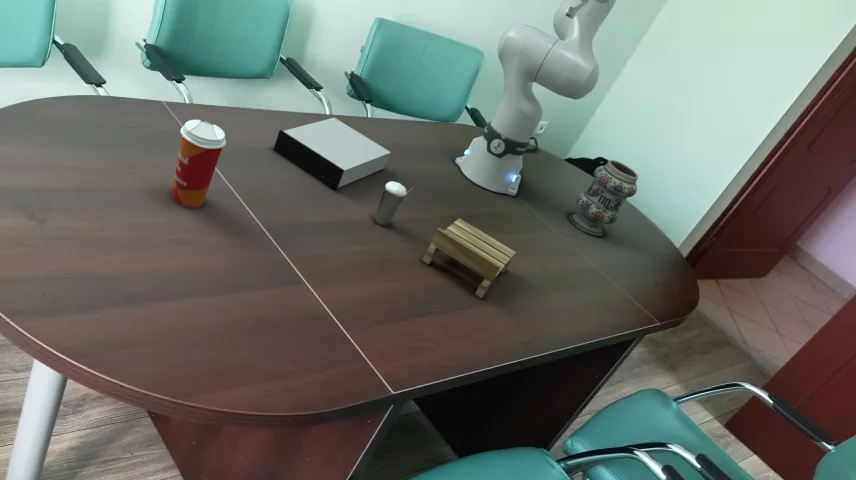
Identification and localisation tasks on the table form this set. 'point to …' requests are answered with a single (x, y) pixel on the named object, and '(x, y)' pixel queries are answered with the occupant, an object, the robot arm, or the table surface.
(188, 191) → the paper cup
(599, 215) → the apothecary jar
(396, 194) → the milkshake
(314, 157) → the disc drive
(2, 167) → the table surface
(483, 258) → the brown wooden slatted bench
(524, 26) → the robot arm
